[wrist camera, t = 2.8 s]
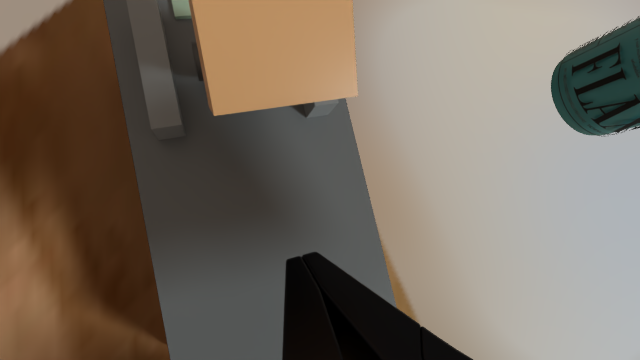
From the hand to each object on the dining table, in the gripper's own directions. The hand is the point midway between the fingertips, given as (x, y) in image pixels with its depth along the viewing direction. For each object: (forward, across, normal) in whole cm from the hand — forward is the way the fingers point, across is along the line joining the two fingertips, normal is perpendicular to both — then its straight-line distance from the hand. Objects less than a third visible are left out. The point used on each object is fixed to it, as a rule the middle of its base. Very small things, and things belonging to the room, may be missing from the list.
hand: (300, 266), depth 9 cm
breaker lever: (+8, 0, -4) cm, 9 cm away
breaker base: (+10, 0, +3) cm, 11 cm away
